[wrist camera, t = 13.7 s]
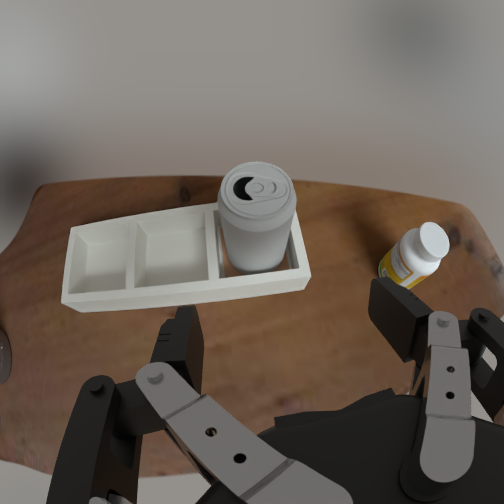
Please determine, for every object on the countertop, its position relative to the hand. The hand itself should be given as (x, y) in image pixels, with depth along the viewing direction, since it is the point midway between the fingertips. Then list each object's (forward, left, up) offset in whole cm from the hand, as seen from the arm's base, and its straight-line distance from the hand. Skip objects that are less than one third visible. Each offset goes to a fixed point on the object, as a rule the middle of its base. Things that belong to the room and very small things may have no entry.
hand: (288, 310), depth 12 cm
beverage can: (0, +11, -17) cm, 20 cm away
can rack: (-9, +11, -18) cm, 23 cm away
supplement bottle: (+18, +6, -18) cm, 26 cm away
